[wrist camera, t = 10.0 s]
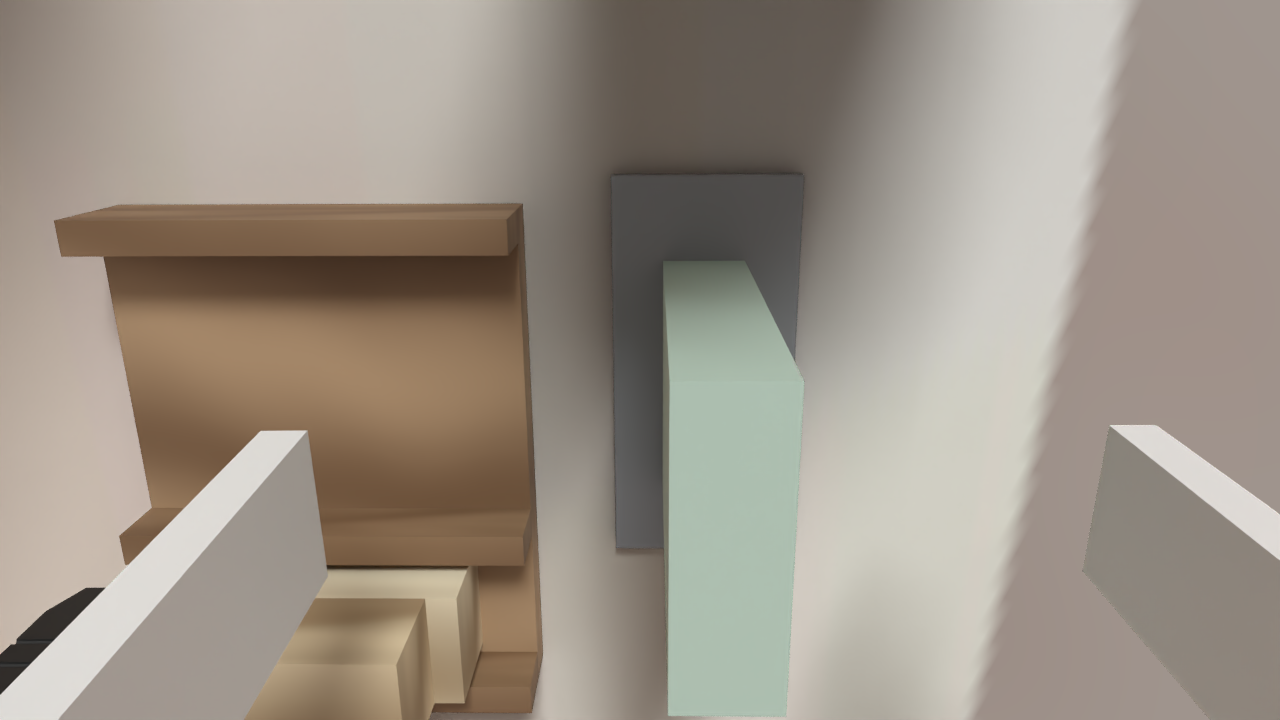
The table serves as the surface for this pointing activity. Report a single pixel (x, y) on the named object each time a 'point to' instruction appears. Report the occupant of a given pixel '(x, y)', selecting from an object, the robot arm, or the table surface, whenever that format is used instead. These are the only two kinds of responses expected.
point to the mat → (641, 240)
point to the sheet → (727, 492)
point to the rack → (345, 383)
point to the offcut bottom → (446, 609)
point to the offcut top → (353, 664)
